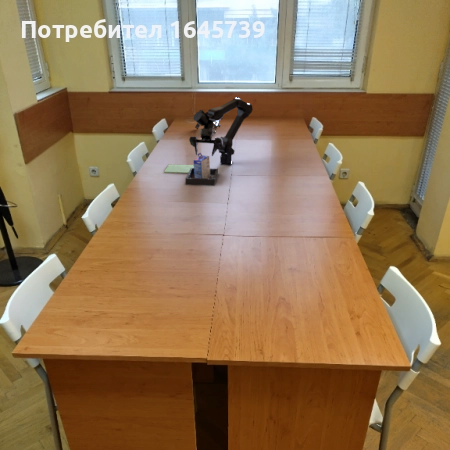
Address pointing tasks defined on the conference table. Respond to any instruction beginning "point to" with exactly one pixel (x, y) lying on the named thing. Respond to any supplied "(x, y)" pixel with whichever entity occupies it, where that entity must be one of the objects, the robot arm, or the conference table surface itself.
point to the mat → (178, 168)
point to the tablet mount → (213, 121)
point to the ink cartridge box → (202, 166)
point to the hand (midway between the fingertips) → (204, 155)
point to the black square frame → (201, 180)
